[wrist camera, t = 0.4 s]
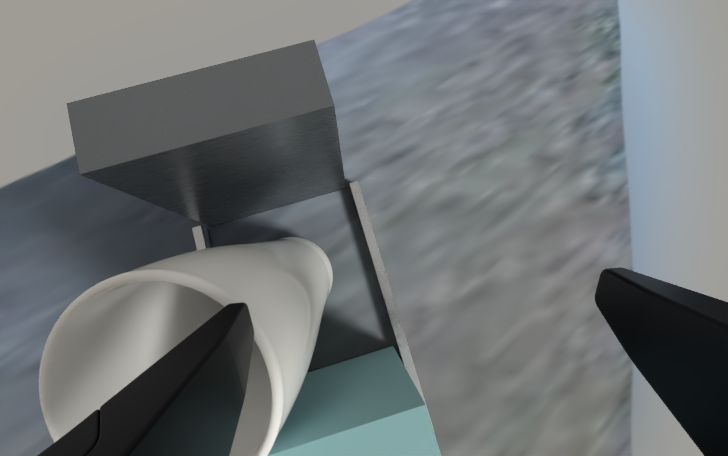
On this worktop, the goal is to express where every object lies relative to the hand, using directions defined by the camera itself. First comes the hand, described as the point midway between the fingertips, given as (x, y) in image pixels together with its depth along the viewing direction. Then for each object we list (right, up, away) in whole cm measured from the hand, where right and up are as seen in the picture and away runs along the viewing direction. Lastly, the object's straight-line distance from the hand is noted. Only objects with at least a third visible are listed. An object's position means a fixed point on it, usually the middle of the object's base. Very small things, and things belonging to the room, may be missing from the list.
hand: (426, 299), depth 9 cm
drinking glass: (-6, -1, +15) cm, 17 cm away
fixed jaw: (-6, -3, +16) cm, 17 cm away
